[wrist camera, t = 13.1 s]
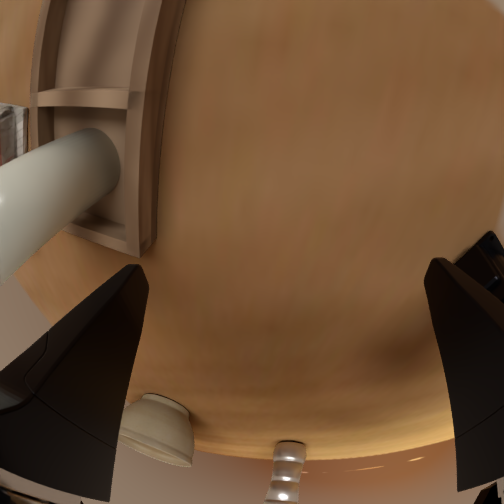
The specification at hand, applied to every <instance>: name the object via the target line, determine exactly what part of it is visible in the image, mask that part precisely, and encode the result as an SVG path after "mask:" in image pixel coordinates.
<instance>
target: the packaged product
mask: <svg viewBox="0 0 504 504" xmlns="http://www.w3.org/2000/svg"><path fill="white" fill-rule="evenodd" d="M27 122H28V108H27V107H23V106H17V105H12V104H4V103H0V167H1V166H2V165H4V164H6V163H8V162H10V161H12V160H14V159H16V158H17V157H19V156H21V155H23V154H25V153H27Z"/></svg>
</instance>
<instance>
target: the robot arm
mask: <svg viewBox="0 0 504 504" xmlns="http://www.w3.org/2000/svg"><path fill="white" fill-rule="evenodd" d="M491 236H492V237H491ZM490 237H491V238H490ZM424 286H425V290H426V295H427V299H428V304H429V309H430V314H431V319H432V323H433V328H434V331H435V335H436V339H437V343H438V346H439V350H440V355H441V359H442V363H443V367H444V372H445V377H446V382H447V387H448V393H449V398H450V404H451V411H452V418H453V426H454V435H455V448H456V461H457V491H458V492H460V491H463V490H467V489H471V488H474V487H477V486H480V485H483V484H486V483H488V482H492V481H494V480H497V481H496V482H495V483H493V484H491V485H490V486H488V487H486V488H484V489H483V490H481V492H480V493H479V495H478V497H477V499H476V501H475V502H474V504H504V249H503V247H502V245H501V243H500V241H499V240H498V238H497V236H496V235H495V233H494V232H493V231H489V232H487V233H486V234H485V235H484V236H483V237H482V238H481V239H480V240H479V241H478V242H477V243H476V244H475V245H474V246H473V247H472V248H471V249H470V250H469V251H468V252H467V253H466V254H465V255H464V256H463V257H462V258H461V259H460V260H459V261H457V262H456V263H455V264H452V263H451V262H449V261H448V260H447V259H445V258H442V257H440V258H433V259H432V260H431V262H430V265H429V267H428V270H427V272H426V275H425V277H424ZM148 293H149V284H148V281H147V279H146V276H145V274H144V271H143V269H142V267H141V266H140V265H139V264H128V265H126V266H125V267H124V268H122V269H121V270H120V271H119V272H117V273H116V274H115V275H114V276H112V277H111V278H110V279H109V280H107V281H106V282H105V283H104V284H102V285H101V286H100V287H99V288H97V289H96V290H95V291H94V292H92V293H91V294H90V295H89V296H88V297H86V298H85V299H84V300H83V301H82V302H80V303H79V304H78V305H77V306H76V307H74V308H73V309H72V310H71V311H70V312H69V313H67V314H66V315H65V316H64V317H63V318H62V319H61V320H59V321H58V322H57V323H56V324H55V325H54V326H53V327H52V328H50V330H49V331H47V332H46V333H45V334H44V335H43V336H41V338H39V339H38V340H37V341H36V342H35V343H34V344H32V346H30V347H29V348H28V349H27V350H26V351H24V352H23V353H22V354H21V355H19V356H18V357H17V358H16V359H15V360H13V361H12V362H11V363H10V364H9V365H7V366H6V367H5V368H4V369H3V370H2V371H0V504H83V502H82V501H81V497H86V498H90V499H95V500H100V501H105V502H109V501H110V494H111V485H112V477H113V468H114V462H115V455H116V448H117V442H118V436H119V430H120V425H121V419H122V414H123V409H124V404H125V399H126V395H127V390H128V386H129V381H130V377H131V373H132V368H133V364H134V360H135V356H136V352H137V348H138V345H139V341H140V337H141V333H142V327H143V322H144V315H145V310H146V304H147V298H148Z"/></svg>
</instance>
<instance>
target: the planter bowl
mask: <svg viewBox="0 0 504 504" xmlns="http://www.w3.org/2000/svg"><path fill="white" fill-rule="evenodd" d="M118 441H120V442H122V443H123V444H125V445H127V446H128V447H130V448H132V449H134V450H136V451H138V452H141V453H142V454H145V455H147V456H149V457H152V458H155V459H157V460H160V461H163V462H166V463H170V464H174V465H178V466H183V467H191V466H192V457H193V453H194V435H193V430H192V427H191V424H190V422H189V412H188V411H187V410H186V409H185V408H184V407H183V406H181V405H179V404H178V403H176V402H174V401H172V400H170V399H167V398H165V397H162V396H158V395H155V394H145V395H143V397H142V398H141V399H140V400H138V401H136V402H134V403H132V404H130V405H129V406H127V407H126V408H125V409H124V410H123V414H122V419H121V425H120V430H119V436H118Z"/></svg>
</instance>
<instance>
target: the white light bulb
mask: <svg viewBox="0 0 504 504" xmlns="http://www.w3.org/2000/svg"><path fill="white" fill-rule="evenodd" d="M119 176H120V160H119V155H118V152H117V149H116V147H115V145H114V143H113V142H112V140H111V139H110V138H109V137H108V136H107V135H106V134H105V133H104V132H103V131H101V130H99V129H96V128H84V129H82V130H79V131H76V132H74V133H71V134H68V135H66V136H63V137H61V138H59V139H56V140H54V141H52V142H49V143H47V144H45V145H42V146H40V147H38V148H36V149H34V150H32V151H30V152H27V153H25V154H23V155H21V156H19V157H17V158H16V159H14V160H12V161H10V162H8V163H6V164H4V165H2V166H1V167H0V286H1V285H3V284H4V282H6V281H7V279H8V278H9V277H10V276H11V275H12V274H13V273H14V272H15V271H16V270H17V269H19V268H20V267H21V266H22V265H23V264H24V263H25V262H26V261H27V260H28V259H29V258H30V257H31V256H32V255H33V254H34V253H35V252H37V251H38V250H39V249H40V248H41V247H42V246H43V245H44V244H45V243H47V242H48V241H49V240H50V239H51V238H52V237H54V236H55V235H56V234H57V233H58V232H59V231H61V230H62V229H63V228H64V227H66V226H67V225H68V224H69V223H70V222H72V221H73V220H74V219H75V218H77V217H78V216H79V215H81V214H82V213H83V212H84V211H86V210H87V209H88V208H90V207H91V206H92V205H94V204H95V203H96V202H98V201H99V200H100V199H102V198H103V197H105V196H106V195H107V194H109V193H110V192H111V191H112V190H113V189H114V188H115V186H116V185H117V182H118V180H119Z"/></svg>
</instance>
